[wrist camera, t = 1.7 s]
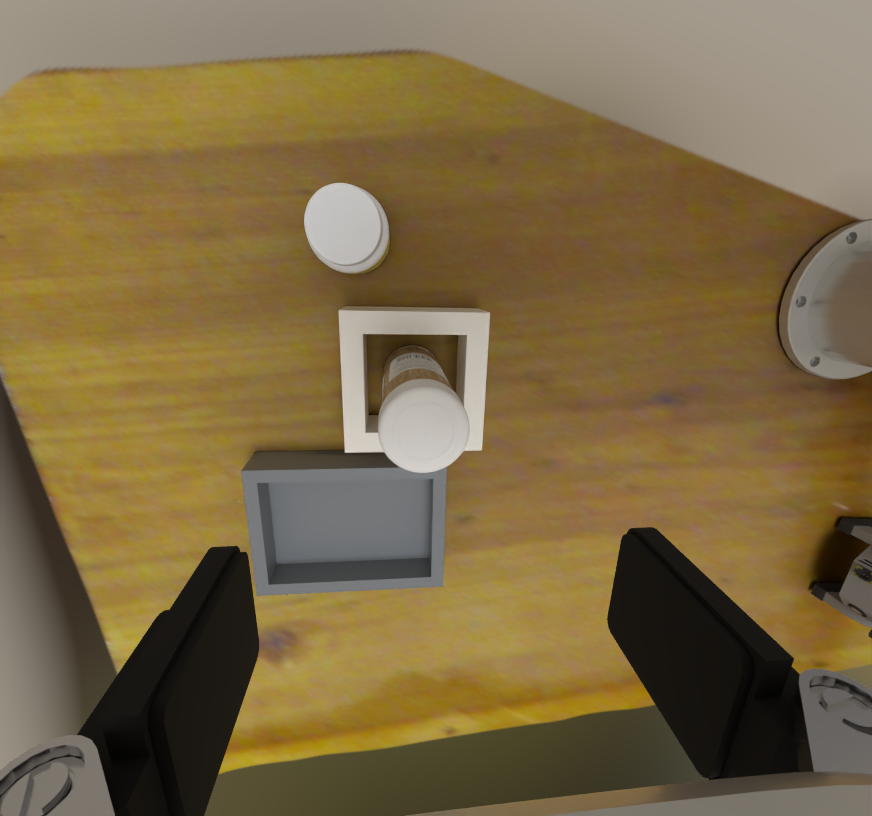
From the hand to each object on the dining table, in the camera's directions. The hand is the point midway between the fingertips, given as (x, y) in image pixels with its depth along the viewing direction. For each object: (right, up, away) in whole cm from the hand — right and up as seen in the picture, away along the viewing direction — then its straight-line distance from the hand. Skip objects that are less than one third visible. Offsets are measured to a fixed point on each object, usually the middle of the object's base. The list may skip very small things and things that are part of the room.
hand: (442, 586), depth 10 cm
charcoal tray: (-7, -4, +26) cm, 27 cm away
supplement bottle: (-6, +16, +20) cm, 26 cm away
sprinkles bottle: (-2, +7, +23) cm, 24 cm away
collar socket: (-2, +7, +23) cm, 24 cm away
